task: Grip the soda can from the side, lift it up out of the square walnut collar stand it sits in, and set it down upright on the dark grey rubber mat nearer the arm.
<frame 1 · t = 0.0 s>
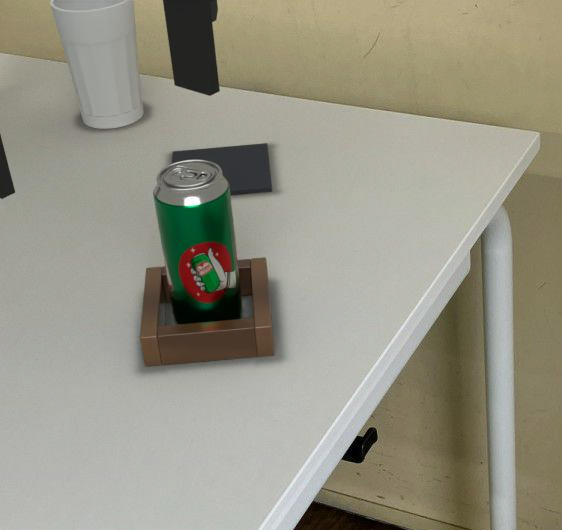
hand: (102, 135, 51), 21 cm above the table, tool pointing down, fingers open, 13 cm apart
mat: (220, 172, 92), on the table
collar stand: (209, 323, 73), on the table
soda can: (210, 326, 73), resting in collar stand
cup: (113, 117, 104), on the table
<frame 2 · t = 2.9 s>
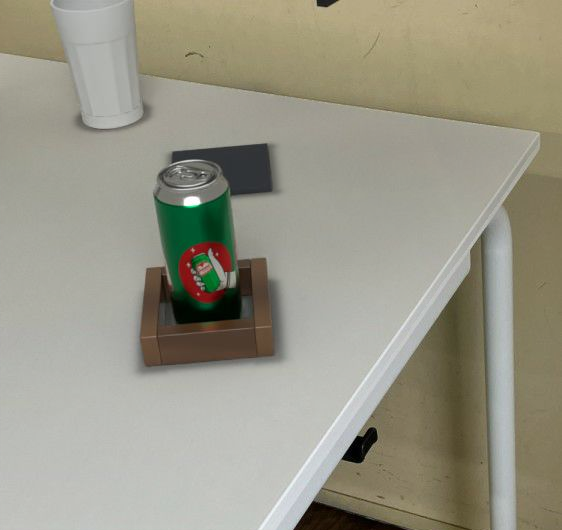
nothing on the table moved.
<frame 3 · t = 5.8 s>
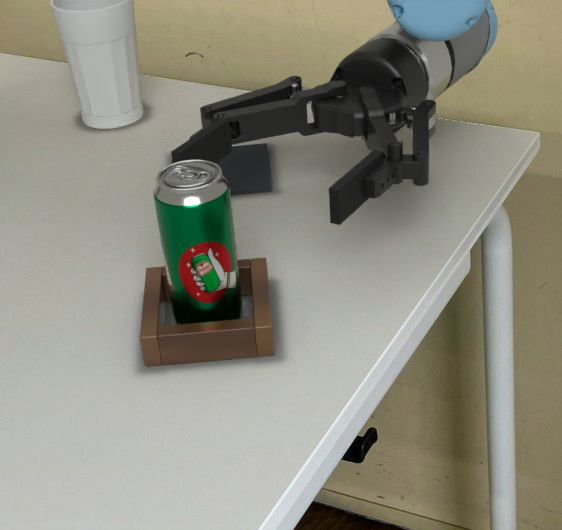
hand: (252, 187, 73), 8 cm above the table, tool horizontal, fingers open, 13 cm apart
nothing on the table moved.
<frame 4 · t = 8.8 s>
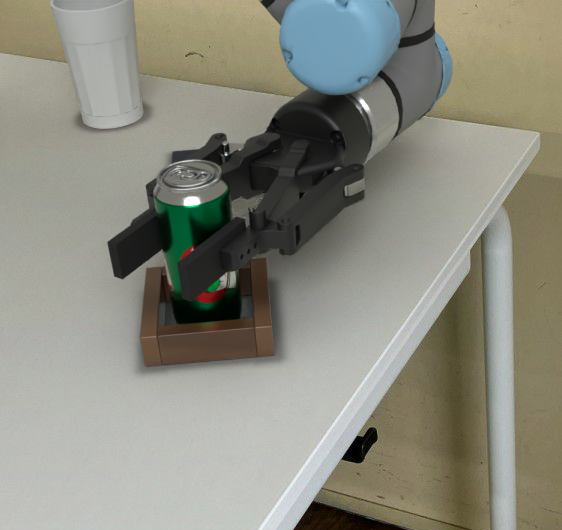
hand: (149, 271, 65), 8 cm above the table, tool horizontal, fingers closed on soda can, 5 cm apart
soda can: (210, 326, 73), resting in collar stand, touching gripper
everything else where it was.
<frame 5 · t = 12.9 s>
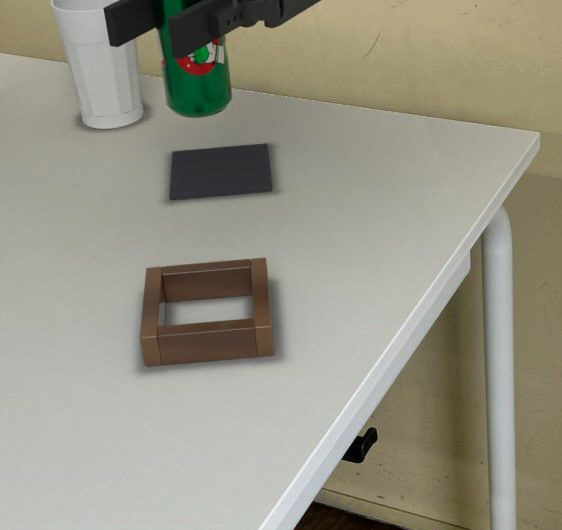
hand: (142, 33, 70), 18 cm above the table, tool horizontal, fingers closed on soda can, 5 cm apart
soda can: (200, 109, 78), point 10 cm above the table, touching gripper
everything else where it was.
when the fingers open (8 cm above the table, at t = 17.2 s): soda can stays where it is, resting on mat.
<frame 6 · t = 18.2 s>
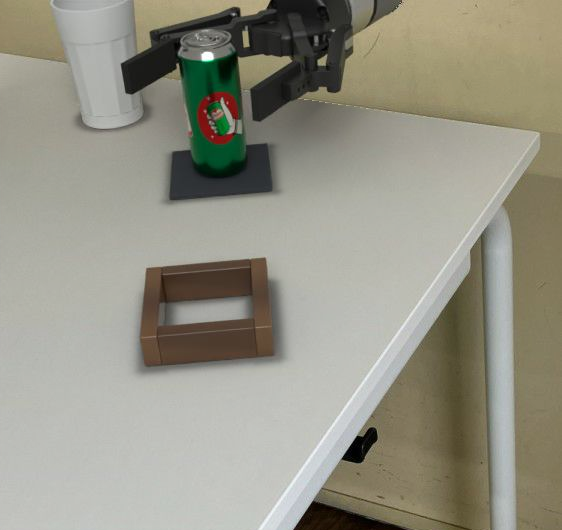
hand: (187, 92, 85), 9 cm above the table, tool horizontal, fingers open, 13 cm apart
soda can: (221, 170, 92), resting on mat
everything else where it was.
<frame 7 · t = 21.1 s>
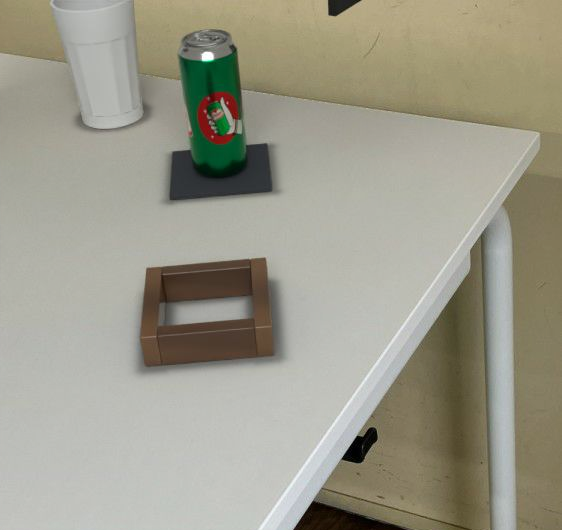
nothing on the table moved.
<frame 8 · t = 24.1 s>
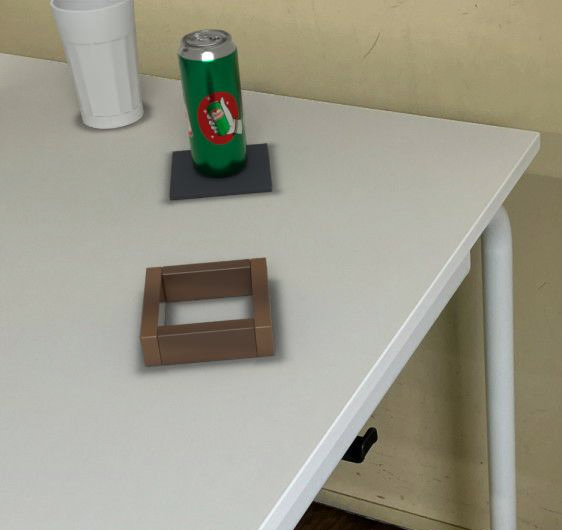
nothing on the table moved.
at the end: soda can inside the target area on the mat (0.1 cm from its centre), point 0.2 cm above the mat's base; soda can tilted 0°; the gripper is holding nothing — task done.
